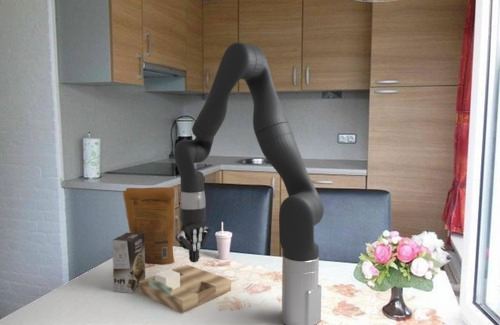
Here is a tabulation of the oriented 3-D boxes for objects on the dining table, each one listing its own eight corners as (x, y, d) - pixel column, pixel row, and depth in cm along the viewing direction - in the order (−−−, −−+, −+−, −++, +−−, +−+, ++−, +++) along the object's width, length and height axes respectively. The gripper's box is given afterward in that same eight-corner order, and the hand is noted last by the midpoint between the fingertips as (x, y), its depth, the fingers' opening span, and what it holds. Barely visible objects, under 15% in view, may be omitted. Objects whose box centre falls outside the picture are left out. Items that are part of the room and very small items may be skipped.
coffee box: (132, 293, 121) (131, 240, 119) (112, 291, 122) (111, 239, 120) (146, 281, 130) (145, 232, 128) (127, 280, 131) (126, 231, 129)
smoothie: (212, 256, 154) (212, 220, 152) (228, 254, 156) (228, 219, 155) (218, 262, 148) (218, 224, 147) (234, 259, 151) (234, 223, 149)
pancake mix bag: (173, 267, 143) (172, 188, 140) (123, 263, 146) (121, 187, 143) (180, 260, 149) (179, 185, 147) (132, 257, 153) (130, 184, 150)
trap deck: (230, 290, 123) (230, 273, 122) (182, 313, 108) (182, 293, 108) (186, 274, 136) (186, 258, 135) (138, 292, 121) (138, 275, 121)
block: (180, 286, 117) (179, 273, 117) (166, 292, 113) (166, 278, 113) (169, 282, 120) (168, 269, 120) (155, 287, 117) (155, 273, 116)
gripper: (184, 211, 115) (186, 270, 116) (217, 203, 125) (218, 258, 126) (167, 207, 120) (169, 264, 121) (200, 201, 130) (201, 253, 131)
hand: (194, 261), depth 124 cm, fingers closed
